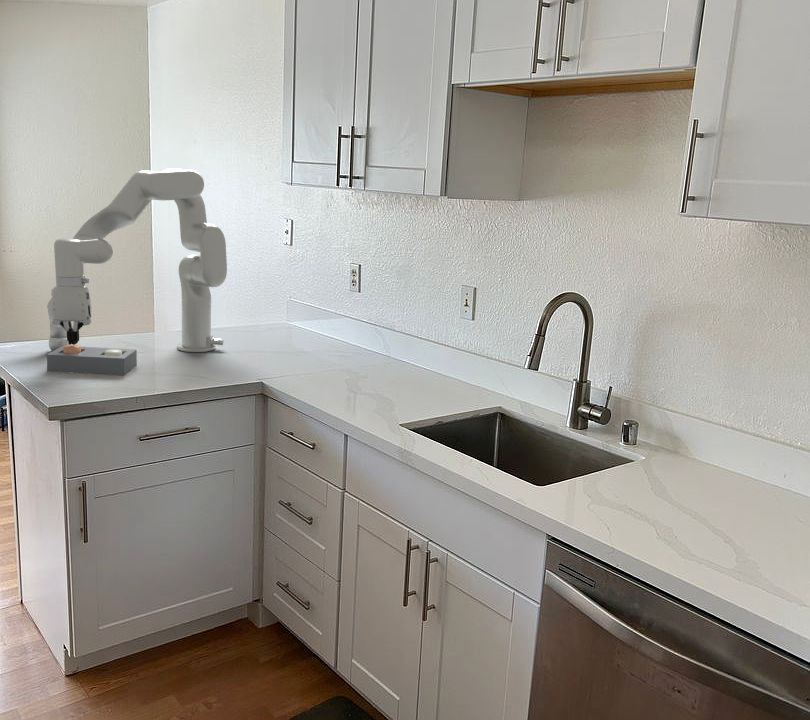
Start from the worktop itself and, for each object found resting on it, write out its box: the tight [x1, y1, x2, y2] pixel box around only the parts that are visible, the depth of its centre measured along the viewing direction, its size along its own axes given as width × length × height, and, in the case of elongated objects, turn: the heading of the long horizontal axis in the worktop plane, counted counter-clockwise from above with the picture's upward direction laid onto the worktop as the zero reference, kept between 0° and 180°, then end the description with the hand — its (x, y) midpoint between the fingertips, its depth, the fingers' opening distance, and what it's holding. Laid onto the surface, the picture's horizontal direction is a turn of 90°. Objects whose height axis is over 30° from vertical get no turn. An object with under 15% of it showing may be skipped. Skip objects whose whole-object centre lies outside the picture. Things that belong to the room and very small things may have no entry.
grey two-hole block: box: [46, 346, 138, 376], centre depth 234 cm, size 22×12×5 cm, turn 92°
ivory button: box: [105, 350, 122, 356], centre depth 234 cm, size 5×5×5 cm
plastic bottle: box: [46, 288, 69, 352], centre depth 250 cm, size 6×7×20 cm
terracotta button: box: [63, 344, 82, 354], centre depth 234 cm, size 5×5×5 cm
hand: (73, 343), depth 233 cm, fingers closed
